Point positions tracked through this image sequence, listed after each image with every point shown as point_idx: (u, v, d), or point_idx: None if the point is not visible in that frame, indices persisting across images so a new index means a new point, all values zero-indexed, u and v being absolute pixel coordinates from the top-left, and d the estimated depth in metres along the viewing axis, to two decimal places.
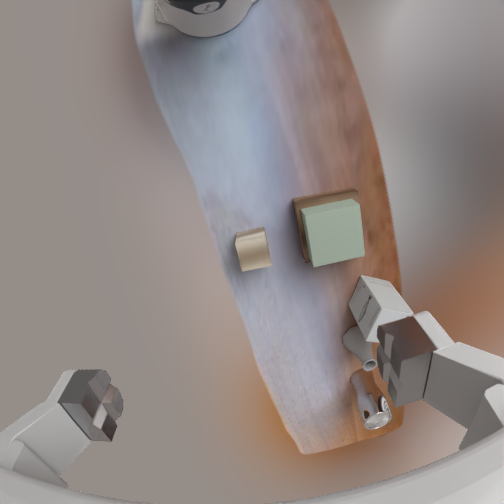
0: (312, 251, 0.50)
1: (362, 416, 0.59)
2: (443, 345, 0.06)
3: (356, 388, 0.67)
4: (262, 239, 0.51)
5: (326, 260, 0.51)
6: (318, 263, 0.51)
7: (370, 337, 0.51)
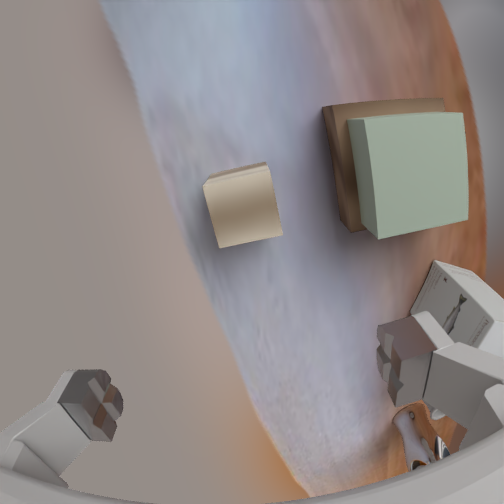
0: (377, 203, 0.21)
1: None
2: (443, 345, 0.06)
3: (404, 434, 0.39)
4: (264, 174, 0.22)
5: (404, 224, 0.22)
6: (388, 231, 0.22)
7: None
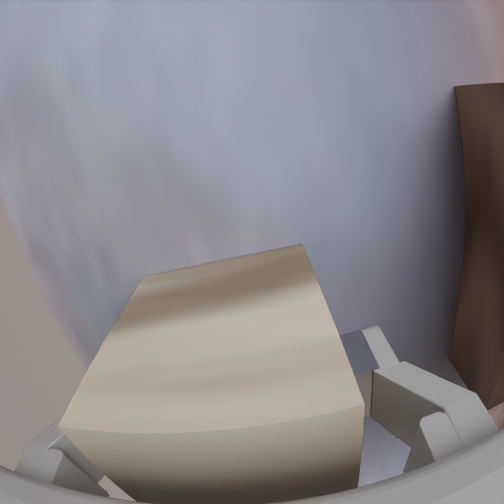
0: None
1: None
2: (386, 364, 0.06)
3: None
4: (333, 418, 0.04)
5: None
6: None
7: None
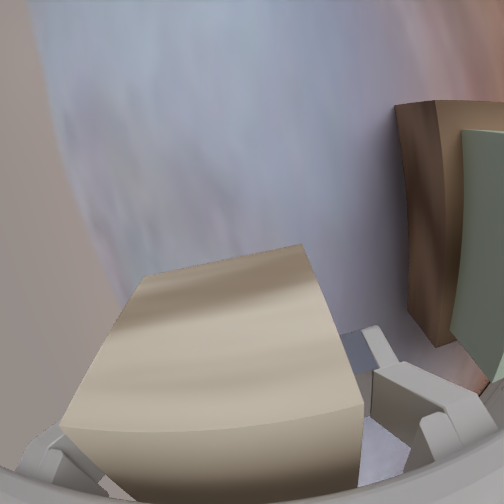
0: None
1: None
2: (386, 364, 0.06)
3: None
4: (332, 417, 0.04)
5: None
6: None
7: None
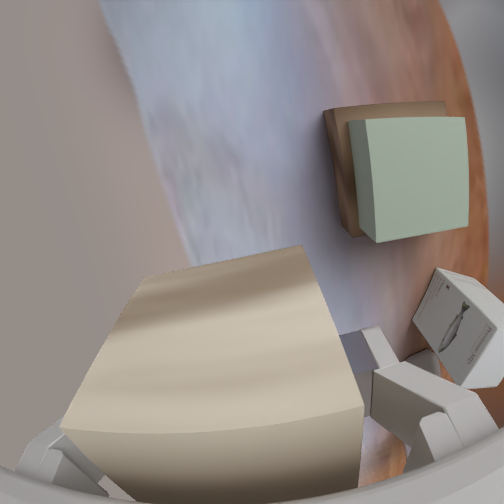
0: (377, 205, 0.21)
1: None
2: (386, 364, 0.06)
3: None
4: (332, 419, 0.04)
5: (403, 228, 0.22)
6: (386, 234, 0.22)
7: (467, 382, 0.22)
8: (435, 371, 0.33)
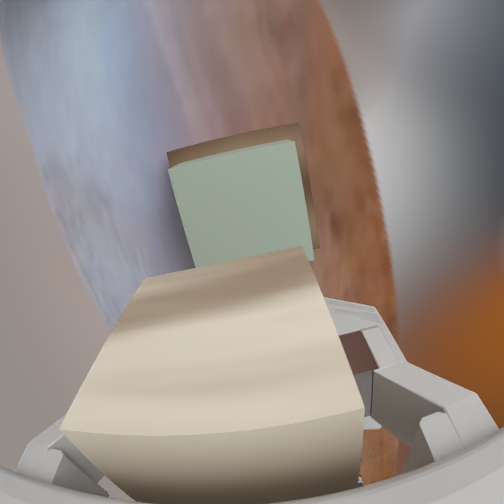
0: (192, 248, 0.23)
1: None
2: (386, 364, 0.06)
3: None
4: (332, 422, 0.04)
5: None
6: None
7: None
8: None
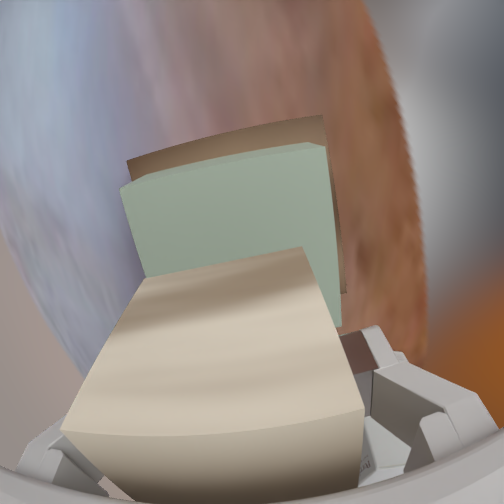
0: None
1: None
2: (386, 364, 0.06)
3: None
4: (332, 421, 0.04)
5: None
6: None
7: None
8: None
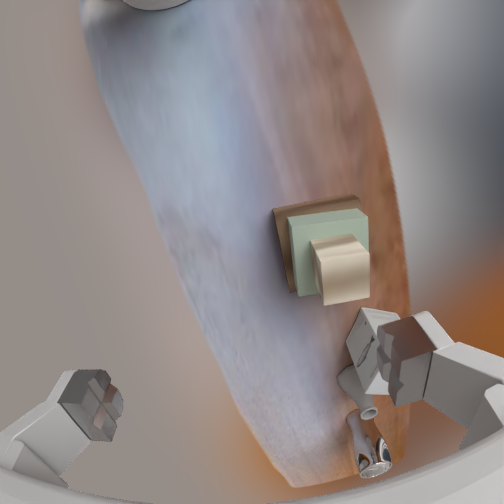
0: (298, 276, 0.37)
1: (358, 465, 0.46)
2: (443, 345, 0.06)
3: (352, 430, 0.55)
4: (365, 255, 0.30)
5: (317, 288, 0.38)
6: (305, 292, 0.38)
7: (370, 389, 0.38)
8: None
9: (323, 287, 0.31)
